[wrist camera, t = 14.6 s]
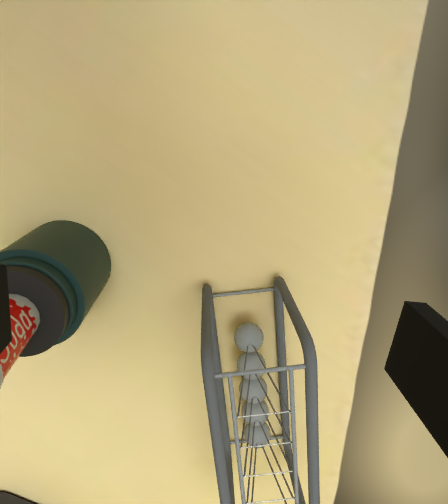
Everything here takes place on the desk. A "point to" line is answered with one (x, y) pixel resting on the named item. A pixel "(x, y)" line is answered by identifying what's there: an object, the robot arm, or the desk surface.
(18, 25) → the desk surface
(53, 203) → the desk surface
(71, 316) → the green lidded canister
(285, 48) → the desk surface
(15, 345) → the beverage cup
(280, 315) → the newton's cradle
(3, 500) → the streaming box
